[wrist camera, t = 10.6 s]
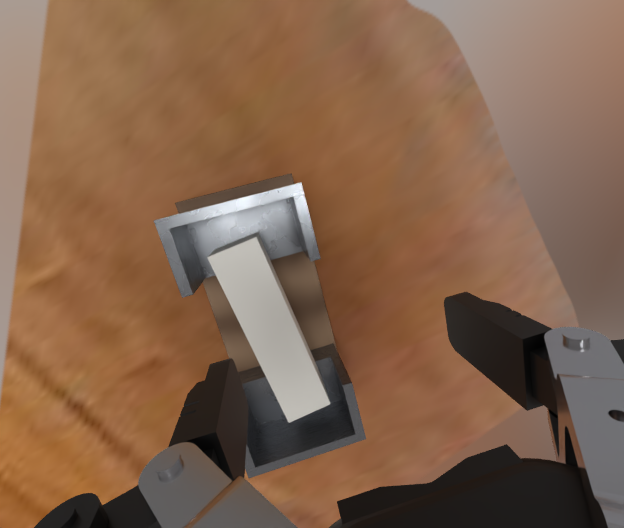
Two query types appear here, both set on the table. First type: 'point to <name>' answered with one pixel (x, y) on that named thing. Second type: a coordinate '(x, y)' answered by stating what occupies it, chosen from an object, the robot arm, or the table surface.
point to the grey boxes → (260, 397)
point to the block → (270, 325)
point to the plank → (291, 273)
